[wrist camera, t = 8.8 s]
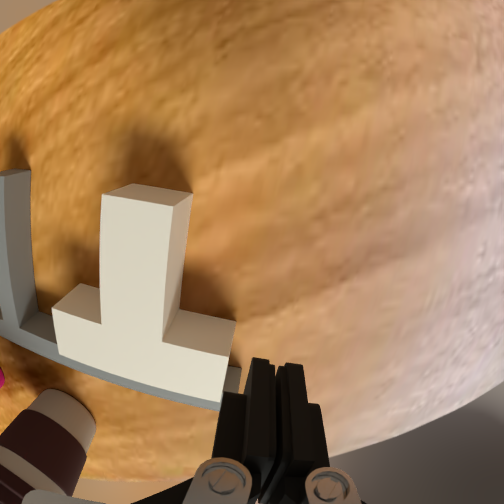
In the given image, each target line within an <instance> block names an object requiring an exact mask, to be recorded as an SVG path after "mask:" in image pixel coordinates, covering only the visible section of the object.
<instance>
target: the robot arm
mask: <svg viewBox="0 0 504 504" xmlns="http://www.w3.org/2000/svg"><path fill="white" fill-rule="evenodd" d="M257 499H258V503H259V504H366V503H365V502H363V501H362V500H360V498H359V495H358V493H357V490H356V487H355V484H354V482H353V480H352V479H351V477H350V476H349V475H348V474H347V473H345V472H344V471H342V470H340V469H336V468H333V467H330V464H329V458H328V451H327V445H326V438H325V432H324V426H323V420H322V414H321V409H320V406H319V404H313V403H308V399H307V391H306V384H305V377H304V370H303V365H301V364H294V363H285V365H284V366H279V367H278V370H277V373H276V376H275V365H272V364H269V360H267V359H261V358H255V357H253V358H252V361H251V365H250V369H249V373H248V377H247V381H246V385H245V389H244V393H243V394H238V393H232V392H227V391H224V392H223V397H222V402H221V407H220V412H219V418H218V423H217V429H216V435H215V440H214V446H213V452H212V458H211V459H209V460H206V461H205V462H204V463H202V464H201V465H200V466H199V468H198V469H197V471H196V473H195V476H194V477H193V478H191V479H188V480H186V481H184V482H182V483H180V484H178V485H175V486H173V487H171V488H169V489H166V490H164V491H162V492H159V493H157V494H154V495H152V496H149V497H147V498H144V499H142V500H139V501H137V502H134V503H131V504H255V502H256V501H257ZM22 504H105V503H100V502H94V501H89V500H83V499H79V498H74V497H70V496H65V495H61V494H57V493H53V492H50V491H46V490H38V489H37V490H33V491H30V492H29V493H27V494H26V495H25V496H24V499H23V501H22Z"/></svg>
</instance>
